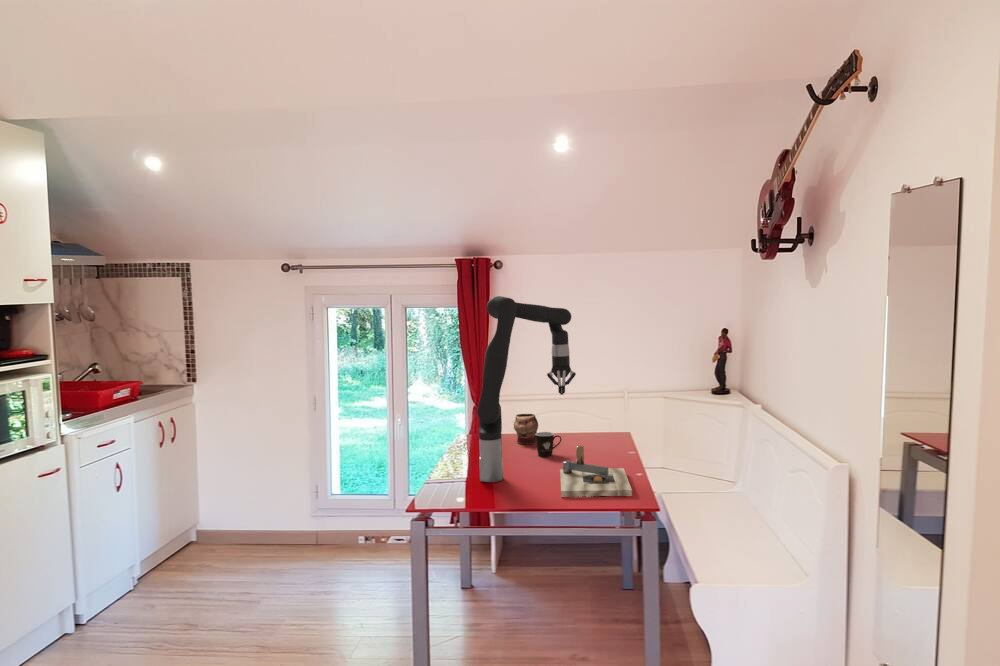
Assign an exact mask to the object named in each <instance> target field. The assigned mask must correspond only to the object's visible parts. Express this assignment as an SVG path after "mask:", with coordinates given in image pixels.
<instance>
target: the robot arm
mask: <svg viewBox="0 0 1000 666" xmlns="http://www.w3.org/2000/svg"><path fill="white" fill-rule="evenodd" d="M486 311H487V313H488V315H489V316H490V317H492V318H494V319H496V320H497V323H496V330H495V333H494V335H493V338H491V340H490V342H489V343H488V345H487V347H486V349H485V353H484V361H483V370H482V386H481V387H482V388H481V394H480V398H479V401H478V406H477V409H476V415H477V418H478V419H479V420H478V422H479V423H478V424H479V428H478V440H479V441H478V444H479V459H478V460H479V463H478V464H479V481H480V482H483V483H495V482H500V481H501V482H502V480H504V469H503V468H504V466H503V465H504V464H503V463H504V462H503V445H502V444H503V443H502V441H503V440H502V439H503V438H502V432H503V431H502V430H503V426H502V423H503V422H502V406H501V404H500V395H501V394H500V393H501V388H502V385H503V382H504V378H505V375H506V371H507V367H508V358H509V350H510V344H511V336H512V332H513V327H514V324H515V320H516V318H517V319H521V320H522V319H523V320H527V321H530V322H535V323H537V322H538V323H543V324H544V323H546V324H547V323H548V326H549V330H550V334H551V366H552V367H551V369H550V371H549V372H547V373H546V376H547V377H548V379H549V380H550V381H551V382H552V384H554V385H556V386H557V387H558V394H560V395H562V396H563V395H564V394H565V393H566V386H567V385H570V383H571V382H572V380H573V379H574V378H575V376H576V375H577V373H576V372H575V371H573V370H572V368H571V366H570V365H571V364H570V362H571V359H570V346H569V333H568V331H566V330H565V329H564V328H563V326H565V325H568V324H569V323H570V322H571V321H572V313H571V312H570V311H569V310H568V309H566V308H561V307H552V306H551V307H550V306H546V305H539V304H532V303H531V304H530V303H522V302H516V301H515V300H514V299H513V298H510V297H506V296H501V295H500V296H499V295H496V296H494V297H492V298H490V299H489V301H487V305H486ZM554 376H555V378H557V381H556V379H555V378H554ZM568 376H569V377H568ZM566 378H567V380H566ZM561 380H562V381H561Z"/></svg>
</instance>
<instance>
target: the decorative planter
mask: <svg viewBox="0 0 1000 666" xmlns="http://www.w3.org/2000/svg"><path fill="white" fill-rule="evenodd" d="M513 429H514V431H515V432H516V435H517V439H516V443H517V444H520V445H532V444H536V437H535V434H536V433H538V429H539V422H538V420H537V417H536V415H535V413H519V414H516V415H515V420H514V423H513Z"/></svg>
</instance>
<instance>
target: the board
mask: <svg viewBox="0 0 1000 666" xmlns="http://www.w3.org/2000/svg"><path fill="white" fill-rule="evenodd" d="M608 471H609V475H601V474H594V473H587V472H581V471H574V470H572V473H570V474H565V473H563V468H562V469H559V475H560V477H559V478H560V496H561V497H571V498H583V497H582V496H586V497H585V498H594V497H593V496H632V497H633V489H632V487H631V484H630V482H629V479H628V476H627V474H626V471H625V468H623V467H617V468H616V467H615V468H611V467H610V468H608ZM596 476H600V477H601V478H602V481H593V479H594V477H596ZM573 496H574V497H573ZM578 496H579V497H578ZM591 496H592V497H591Z"/></svg>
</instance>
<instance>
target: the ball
mask: <svg viewBox="0 0 1000 666" xmlns="http://www.w3.org/2000/svg"><path fill="white" fill-rule="evenodd" d="M593 481H602V478H601V477H600V476H596V477H594V479H593Z"/></svg>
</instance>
